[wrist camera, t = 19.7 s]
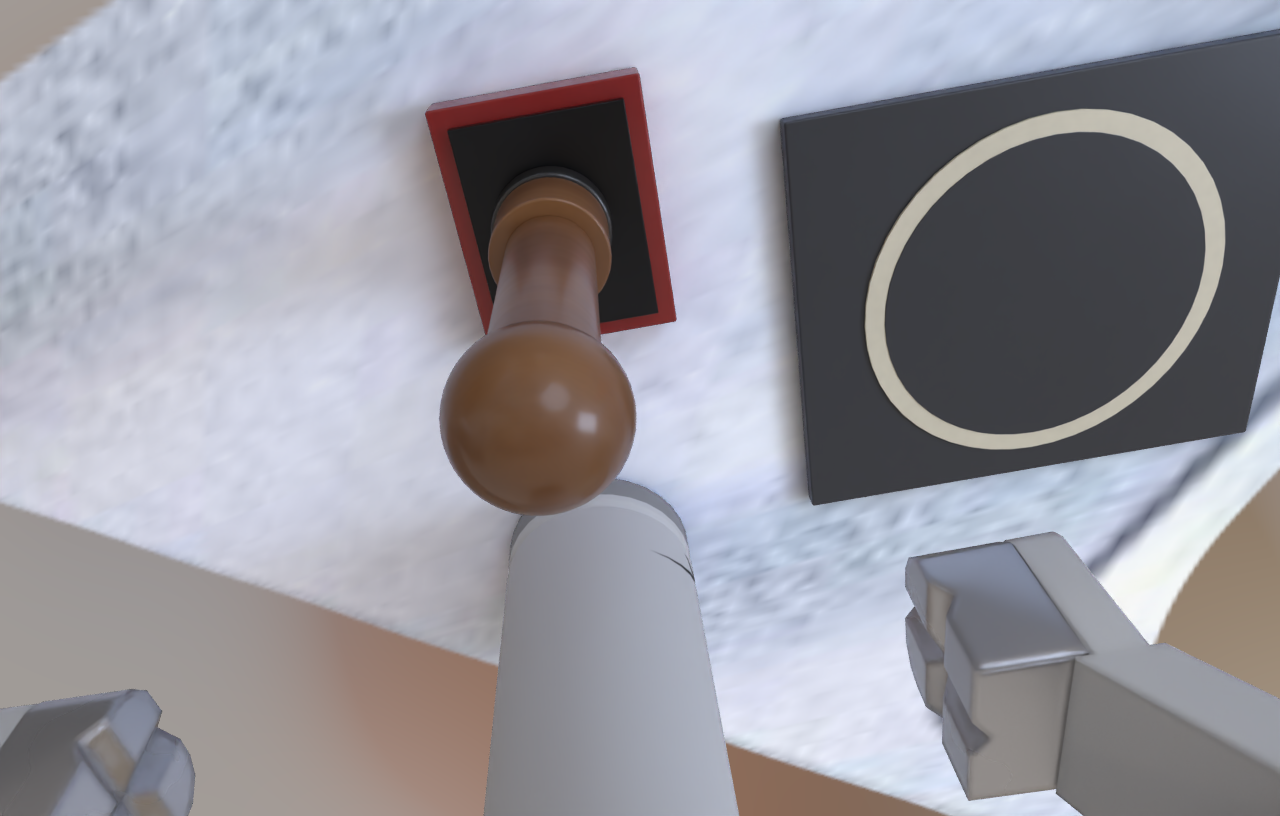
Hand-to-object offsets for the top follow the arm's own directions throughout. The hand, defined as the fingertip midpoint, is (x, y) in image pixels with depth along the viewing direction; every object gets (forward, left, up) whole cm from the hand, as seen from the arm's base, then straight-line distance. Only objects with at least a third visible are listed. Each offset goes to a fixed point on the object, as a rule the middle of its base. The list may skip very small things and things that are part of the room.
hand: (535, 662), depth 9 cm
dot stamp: (0, 0, -16) cm, 16 cm away
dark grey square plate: (+5, +14, -18) cm, 23 cm away
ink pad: (0, 0, -18) cm, 18 cm away
